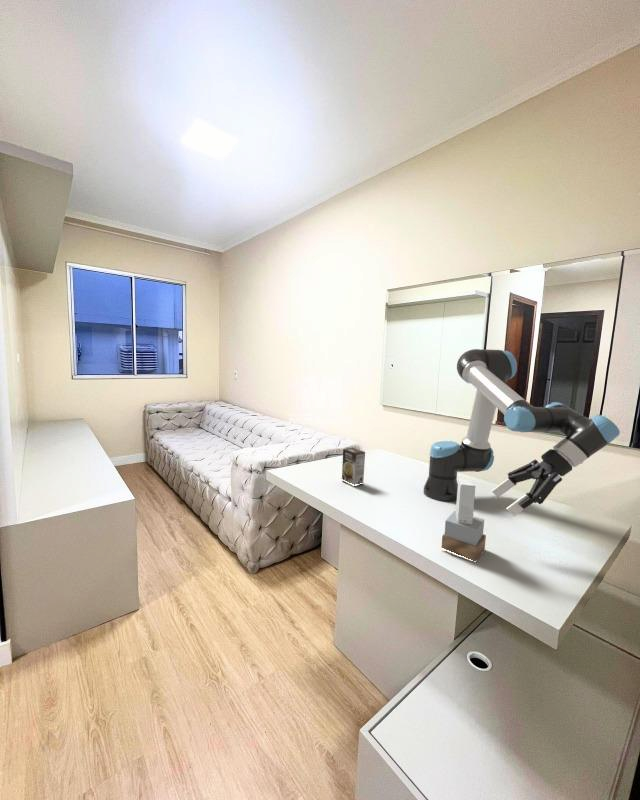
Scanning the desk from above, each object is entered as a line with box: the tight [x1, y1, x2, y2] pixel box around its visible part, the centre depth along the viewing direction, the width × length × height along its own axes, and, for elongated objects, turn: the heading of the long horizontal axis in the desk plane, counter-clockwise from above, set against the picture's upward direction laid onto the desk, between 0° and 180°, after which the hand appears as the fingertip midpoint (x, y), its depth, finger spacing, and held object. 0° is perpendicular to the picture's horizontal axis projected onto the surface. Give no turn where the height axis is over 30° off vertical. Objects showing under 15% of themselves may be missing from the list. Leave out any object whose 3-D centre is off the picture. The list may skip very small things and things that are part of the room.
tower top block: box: [444, 510, 485, 546], centre depth 106 cm, size 9×9×5 cm
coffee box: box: [341, 447, 366, 485], centre depth 162 cm, size 9×6×16 cm
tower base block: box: [441, 533, 487, 561], centre depth 106 cm, size 10×10×5 cm
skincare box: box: [455, 478, 476, 524], centre depth 105 cm, size 6×4×12 cm
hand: (501, 502), depth 103 cm, fingers open, 13 cm apart
